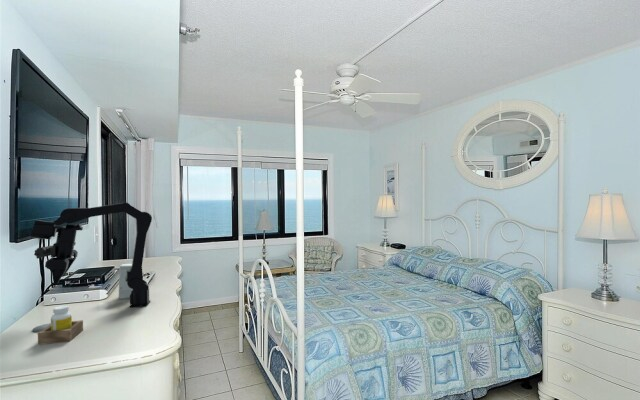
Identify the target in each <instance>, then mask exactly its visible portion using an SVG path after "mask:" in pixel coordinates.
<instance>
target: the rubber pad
mask: <svg viewBox="0 0 640 400" xmlns="http://www.w3.org/2000/svg"><path fill="white" fill-rule="evenodd" d="M49 325H51V322H50V323H45V324H41V325H38V326H35V327H33V328H32V332H33V331H34V332H33V333H39V332H40V331H42V330H43V329H45V328H46V327H48V326H49Z"/></svg>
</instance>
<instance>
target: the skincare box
mask: <svg viewBox="0 0 640 400" xmlns="http://www.w3.org/2000/svg"><path fill="white" fill-rule="evenodd" d="M131 266H132V263H123V264H121V265H119V277H118V278H119V279H118V300H119V299H120V300H121V299H130V295H131V291H132V290H133V289H131V288H129V287H128V285H127V282H126V281H125V277H126V274H127V273H126V269H130V268H131Z"/></svg>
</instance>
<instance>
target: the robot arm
mask: <svg viewBox="0 0 640 400" xmlns="http://www.w3.org/2000/svg"><path fill="white" fill-rule="evenodd" d="M119 213H125V214H126V215H129V216H130V217H132V218H134V219H135V227H136V228H135V231H136V236H135V241H134V249H133V255H132V260H131V261H132V262H131V264H132V266H131V268H130V269H126V273H127V274H126V277H125V281H126V282H127V285H128V287H129V288H131V289H133V290H132V291H131V295H130V298H129V307H130V308H134V307H138V308H140V307H147V306H148V305H149V304H150V303H151V301H152V300H150V286H149V285H148V282H147V281H146V280H144V279H143V278H144V274H143V261H144V253H145V247H146V240H147V233H148V231H149V229H150V226H151V223H152V222H153V221H152V220H153V217H152V215H151V213H149V212H147V211H140V210H139V209H138V208H136V207H134V206H132V205H131V204H130V203H129V202H126V201H123V202H121V203H114V204H106V205H101V206H94V207H68V208H65V209H63V210H62V211H61V212H60V215H59V217H58V218H56V219H54V221H46V220H41V219H36V220H34V223H33V227H32V229H31V231H30V233H31V234H30V238H31V239H38V240H51V239H52V238H55V237H56V241H55V242H54V243H53V245H48V246H41V247H38V248H36V249H35V250H34V254H33V255H34V256H35V257H36V259H37V260H38V259H42V258H45V257H49V256H50V258H49V259H47V260H46V262H45V265H44V267H45V268H46V269H47V270H50V272H51V275H52V281H53V284H54V285H58V283H59V282H60V281H61V279H62V277H65V276H66V274H67V273H68V271H69V269H70V268H71V267H72V265H73V263H74V262H75V261H76V259H77V257H78V255H79V254H78V253H79V252H78V251H77V250H76V249H75V248H74V247H75V246H76V237H77V231H83V229H84V227H83V226H82V225H81V224H80V221H83V220H86V219H88V218H93V217H94V218H95V217H98V216H105V215H112V214H119ZM76 222H78V223H77V224H73V223H76ZM63 224H66V225H63ZM56 233H57V235H56Z"/></svg>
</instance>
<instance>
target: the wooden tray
mask: <svg viewBox="0 0 640 400" xmlns="http://www.w3.org/2000/svg"><path fill="white" fill-rule="evenodd" d="M83 331H84V320H83V319H82V320H72V326H71V327H70V328H68V329H64V330H53V331H51V325H49V326H48V327H46V328H45V329H43V330H42V331H40V332H37V344H38V345H45V344H54V343H66V342H67V343H68V342H71V341H72V340H73V339H75V338H76V337H78V335H79V334H81V333H82V332H83Z"/></svg>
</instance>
